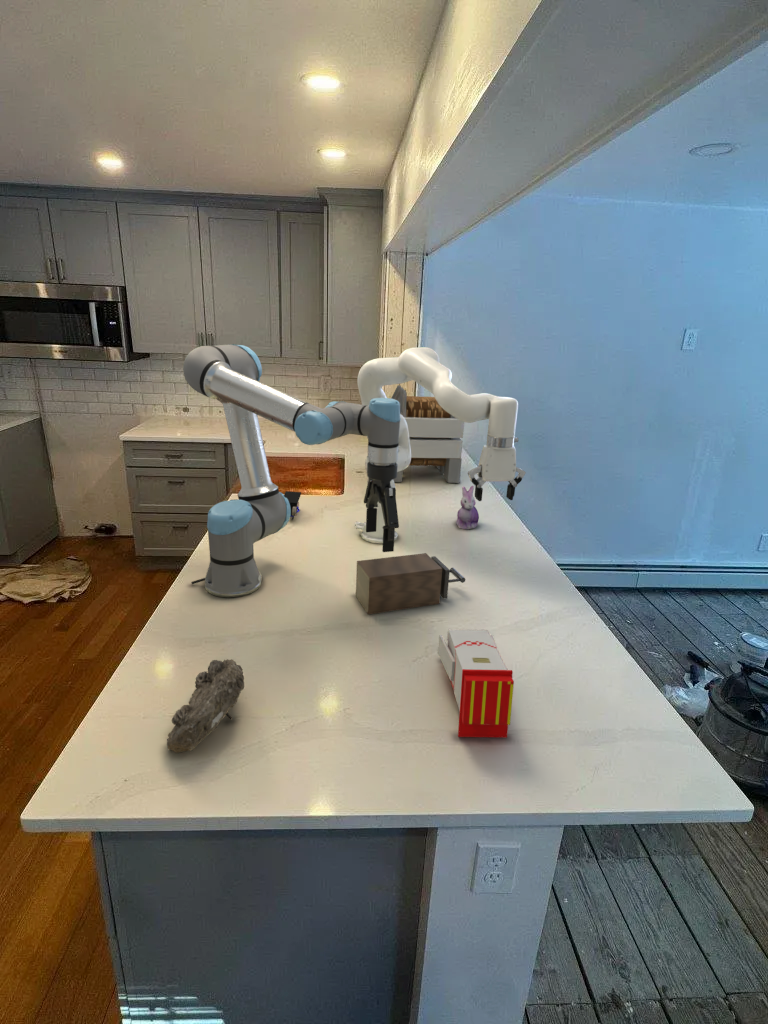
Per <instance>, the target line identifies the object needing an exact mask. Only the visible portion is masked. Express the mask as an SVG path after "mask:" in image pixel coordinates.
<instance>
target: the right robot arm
mask: <svg viewBox="0 0 768 1024" xmlns="http://www.w3.org/2000/svg"><path fill="white" fill-rule="evenodd" d="M452 378H453V373H452V371H451V369H450V368H449V367H447V366H445V364H442V363H440V356H439V354H438V353H437V352H436V351H435V350H434V349H432V348H431V347H427V346H426V347H425V346H423V347H421V346H420V347H409V348H406V349H405V350H403V351H402V352H401V353H400V354H399V356H393V357H391V356H390V357H377V358H373V359H370V360H368V361H366V362H365V363H364V364H363V365H362V366H361V367H360V368H359V371H358V374H357V389H358V394H359V396H360V402H361V405H369V403H370V400H371V399H373V398H388V397H387V395H386V393H385V391H384V390H383V387H384V386H392V385H400V384H405V383H408V382H412V381H413V382H414V383H417V384H418V385H420V386H421V387H422V388H424V389H425V390H427V391H428V392H430V393H431V394H432V395H433V397H435V399H436V401H437V402H438V404H439V405H440V406H441V407H442V408H443V409H444V410H445V411H447V412H448V413H449V414H451V415H452V416H454V417H455V418H457V419H459V420H460V421H463V422H464V423H467V424H471V423H475V422H480V421H485V420H488V424H487V425H488V426H487V435H486V444H483V446H482V448H481V452H480V456H479V461H478V466H477V467H475V468H473V469H471V470H469V471H468V472H467V476H468V478H469V480H470V482H471V483H472V484H473V486H474V498H475V500H477V501H478V502H482V501H483V491H484V489H483V485H485V483H488V482H489V483H491V482H493V483H496V482H498V483H499V482H508V484H507V487H506V496H505V497H506V498H507V499H508V500H510V501H513V500H514V497H515V493H516V488H517V487H518V485H519V484H520V483H521V482H522V480H523V478H524V477H525V475H526V474H527V472H526V471H525V470H524V469H521V468H520V467H518V466H517V450H516V447H515V444H516V443H519V437H516V428H517V418H518V411H519V402H518V400H517V399H516V398H514V397H510V396H498V395H495V394H491V393H487V392H479V393H474V394H468V393H467V392H465V391H463V390H461V389H460V388H459V387H457V386H456V385H455V384H454V383H453V382H452ZM400 418H401V420H400V428H399V445H398V448H399V449H400V451H399V452H398V461H397V462H396V463H397V465H398V467H397V472H399V471H402V470H403V471H404V470H406V469H407V468H408V467H409V464H410V462H411V448H410V440H409V432H408V426H407V422H406V420H405V418H404V417H403V416H402V415H401V414H400ZM366 439H368V436H366ZM364 462H365V463H364V465H365V471H366V473H367V463H368V462H369V461H368V459H367V456H366V457H365V461H364ZM516 473H517V476H516ZM476 475H477V477H478V478H476ZM368 479H369V477H368V476H367V475H366V480H367V481H366V482H367V483H366V486H367V485H368ZM390 485H391V488H395V489H396V482H394V480H391V481H390ZM377 504H378V507H374V508H377V523H376V532H366V521H364V522H362V521H355V522H354V527H355V529H356V530H361V534H360V535H361V538H362V539H363V540H364V541H366V542H368V543H373V544H383V528H382V527H383V526H385V523H384V518H383V513H382V507H381V504H380V503H379V502H378V503H377ZM367 509H368V508H366V510H367ZM398 537H399V534H398V532H397V531H396V530H395V534H394V542H395V541H397V540H398Z"/></svg>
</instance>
